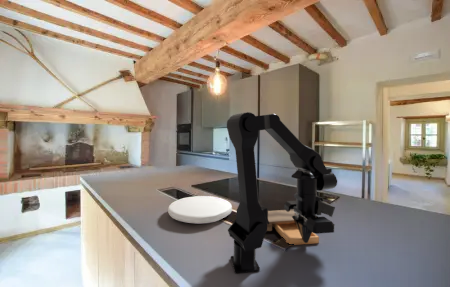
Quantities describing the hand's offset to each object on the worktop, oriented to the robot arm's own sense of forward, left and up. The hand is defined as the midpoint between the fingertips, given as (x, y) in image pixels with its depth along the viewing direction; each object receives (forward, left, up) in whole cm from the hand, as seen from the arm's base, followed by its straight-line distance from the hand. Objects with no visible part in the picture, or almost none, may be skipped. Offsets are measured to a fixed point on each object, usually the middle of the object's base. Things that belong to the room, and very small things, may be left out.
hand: (305, 242), depth 63 cm
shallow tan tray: (+8, 0, -1) cm, 8 cm away
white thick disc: (+30, +31, -2) cm, 43 cm away
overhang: (+16, 0, -1) cm, 16 cm away
